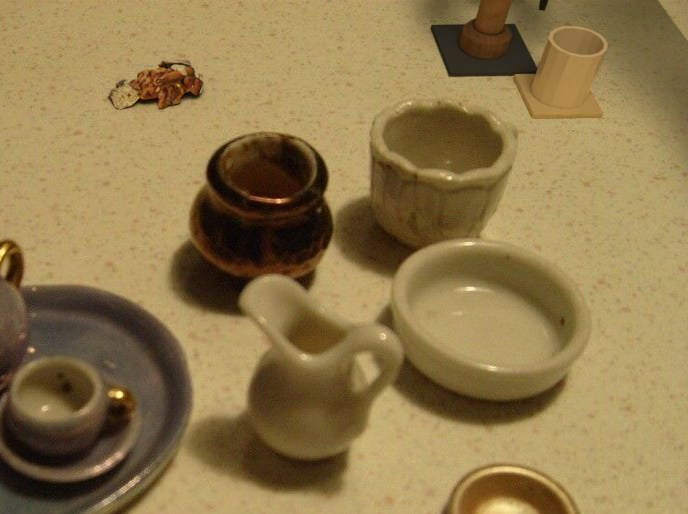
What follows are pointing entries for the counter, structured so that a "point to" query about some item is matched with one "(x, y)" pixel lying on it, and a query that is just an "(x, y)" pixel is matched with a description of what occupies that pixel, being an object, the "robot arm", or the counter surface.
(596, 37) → the cream cup
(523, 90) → the cream mat
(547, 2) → the robot arm
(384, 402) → the counter surface
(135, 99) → the pastry
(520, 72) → the slate mat
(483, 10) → the mortar and pestle
